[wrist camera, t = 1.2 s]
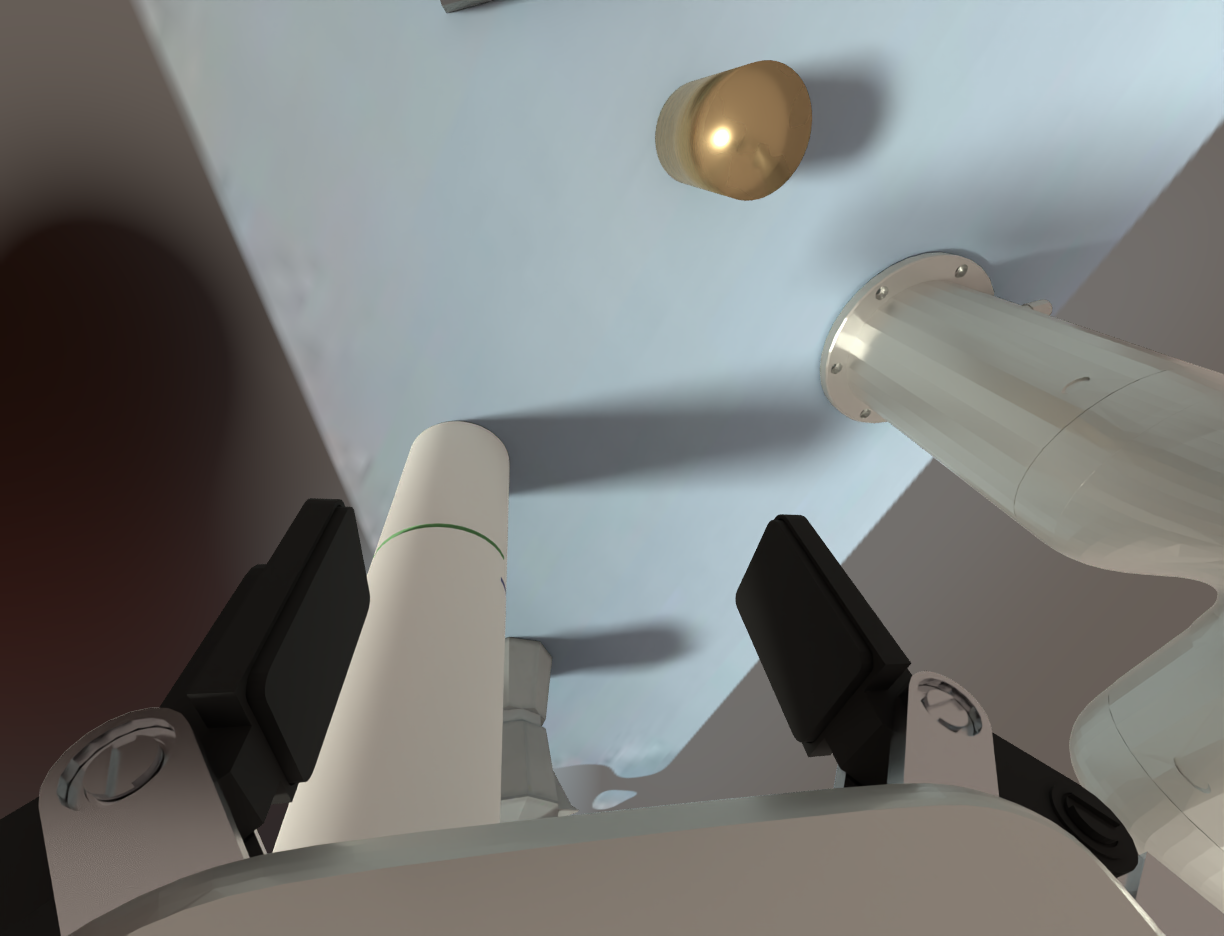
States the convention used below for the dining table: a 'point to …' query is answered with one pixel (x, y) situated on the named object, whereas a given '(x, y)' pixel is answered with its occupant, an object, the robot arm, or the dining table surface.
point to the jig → (460, 4)
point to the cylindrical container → (422, 659)
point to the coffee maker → (527, 737)
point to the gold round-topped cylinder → (736, 130)
